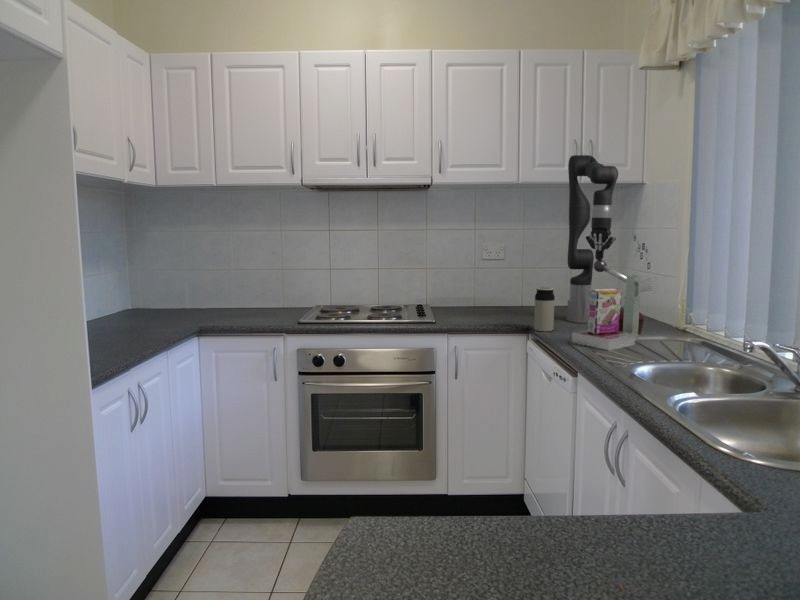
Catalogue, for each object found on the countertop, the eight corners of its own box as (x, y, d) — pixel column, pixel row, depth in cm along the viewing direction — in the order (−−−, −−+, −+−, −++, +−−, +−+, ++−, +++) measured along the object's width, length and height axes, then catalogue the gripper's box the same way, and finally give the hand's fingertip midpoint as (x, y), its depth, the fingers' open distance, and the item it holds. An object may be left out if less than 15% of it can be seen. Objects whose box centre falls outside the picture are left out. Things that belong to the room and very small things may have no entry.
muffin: (616, 329, 237) (617, 306, 236) (644, 331, 232) (645, 308, 231) (612, 334, 227) (613, 310, 226) (642, 337, 222) (643, 312, 220)
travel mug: (540, 332, 232) (541, 289, 229) (530, 328, 240) (531, 287, 237) (557, 331, 234) (558, 288, 232) (547, 327, 242) (548, 286, 239)
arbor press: (571, 342, 212) (574, 277, 208) (613, 334, 227) (616, 273, 223) (608, 350, 199) (612, 280, 195) (649, 341, 214) (653, 276, 210)
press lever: (593, 294, 227) (590, 260, 227) (601, 294, 230) (598, 260, 230) (650, 291, 207) (647, 253, 207) (658, 290, 210) (654, 253, 210)
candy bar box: (595, 335, 205) (597, 290, 203) (586, 332, 210) (588, 289, 208) (620, 332, 209) (622, 289, 207) (610, 330, 214) (612, 288, 211)
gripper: (581, 216, 227) (579, 259, 230) (610, 216, 217) (607, 261, 219) (593, 216, 232) (591, 258, 234) (621, 216, 221) (619, 260, 223)
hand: (599, 259), depth 227 cm, fingers closed
